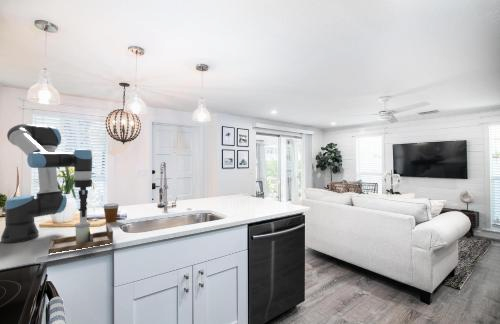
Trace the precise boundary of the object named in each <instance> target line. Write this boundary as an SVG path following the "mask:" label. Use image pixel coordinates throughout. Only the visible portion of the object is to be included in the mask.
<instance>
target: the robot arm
mask: <svg viewBox="0 0 500 324" xmlns="http://www.w3.org/2000/svg"><path fill="white" fill-rule="evenodd" d="M6 137H7V140H8V141H9V143H11V144H12V145H13V146H15V147H18V148H19V149H20V150H21V151H22V152H23V153H24V154H25V155H26V156H27V158H26V162H27V165H28V166H29V167H30V168H31V169H32V168H33V169H37V174H38V187H39V191H38V192H36V196H35V195H34V194H24V195H18V196H13V197H10V198H8V199H7V200H5V204H4V212H5V213H4V214H5V215H4V218H5V219H4V222H5V223H4V224H5V226H4V230H3V232H2V234H1V236H0V242H1V243H3V244H11V243H13V244H14V243H20V242H26V241H29V240H33V239H36V238H38V237H39V234H40V233H39V229H38V228H37V226H36V224H35V218H38V217H44V216H50V215H56V214H61V213H63V212H64V211H65V209H66V207H67V203H68V198H67V196H66V194H65V193H62V190H61V189H59V183H58V182H59V181H58V171H57V168H74V170H73V171H74V173H73V177H74V180H73V181H74V182H73V183H74V188H79V190H78V199H79V208H78V211H79V223H80V224H82V223H87V222H88V218H87V217H88V215H87V214H88V213H87V212H88V210H87V209H88V208H87V205H88V201H87V199H88V194H89V190H88V189H87V188H91V187H92V186H93V181H92V178H93V175H94V172H92V171H93V153H92V152H93V151H92V150H91V149H80V148H79V149H77V148H76V149H75V150H74V152H56V149H58V146H59V145H61V143H62V135H61V133H60V130H59V129H58V128H57V127H54V126H49V125H38V124H37V125H36V124H28V123H21V124H17V125H15V126H14V125H13V127H11V128H9V130H8V131H7V133H6Z"/></svg>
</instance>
